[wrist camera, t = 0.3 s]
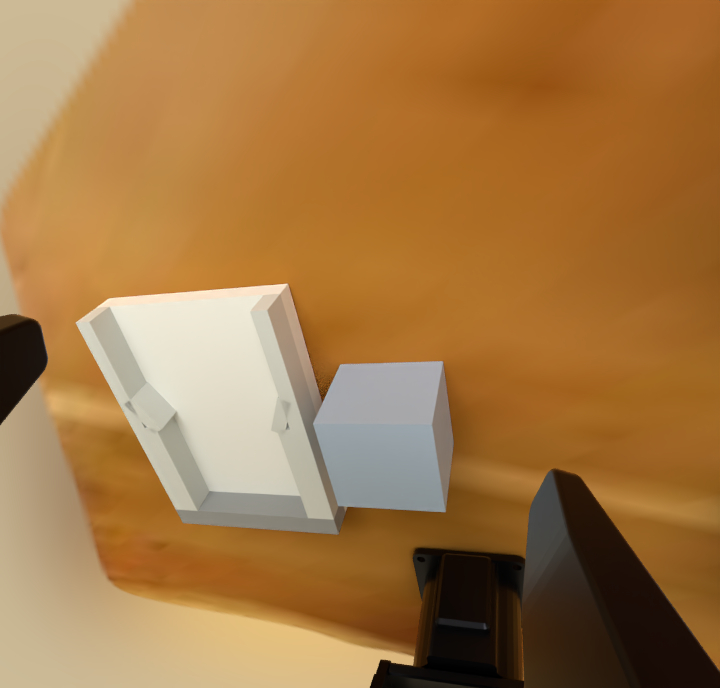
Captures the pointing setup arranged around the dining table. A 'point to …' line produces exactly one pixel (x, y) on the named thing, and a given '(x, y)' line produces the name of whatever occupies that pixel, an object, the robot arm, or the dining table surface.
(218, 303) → the board
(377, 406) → the block
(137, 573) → the dining table surface
